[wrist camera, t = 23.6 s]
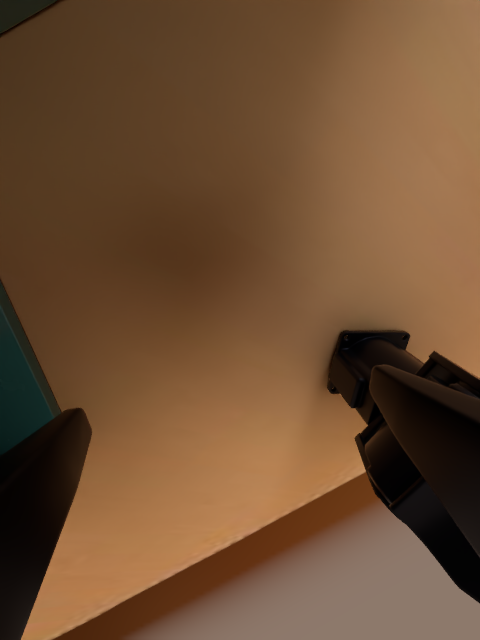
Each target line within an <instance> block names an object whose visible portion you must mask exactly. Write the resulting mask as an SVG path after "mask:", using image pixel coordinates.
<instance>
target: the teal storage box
mask: <svg viewBox="0 0 480 640" xmlns="http://www.w3.org/2000/svg"><path fill="white" fill-rule="evenodd" d="M59 414H61V411H60V409H59V407H58V404H57V402H56V400H55V398H54V396H53V393H52V391H51V389H50V387H49V385H48V383H47V380H46V378H45V376H44V374H43V372H42V370H41V367H40V365H39V363H38V361H37V359H36V357H35V354H34V352H33V350H32V348H31V346H30V343H29V341H28V339H27V337H26V335H25V333H24V330H23V328H22V326H21V324H20V322H19V320H18V317H17V315H16V313H15V311H14V309H13V307H12V304H11V302H10V300H9V298H8V296H7V293H6V291H5V289H4V287H3V285H2V283H1V280H0V456H1V455H3V454H4V453H6V452H7V451H8V450H10V449H11V448H13V447H14V446H15V445H17V444H18V443H20V442H21V441H22V440H24V439H25V438H27V437H28V436H30V435H31V434H32V433H34V432H35V431H37V430H38V429H39V428H41V427H42V426H44V425H45V424H46V423H48V422H49V421H51V420H52V419H54V418H55V417H56V416H58V415H59Z"/></svg>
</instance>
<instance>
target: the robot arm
mask: <svg viewBox="0 0 480 640" xmlns="http://www.w3.org/2000/svg"><path fill="white" fill-rule="evenodd" d="M346 335H348V336H347V337H346V338H344V337H345V336H346ZM403 336H404V337H403ZM402 337H403V338H402ZM409 338H410V335H409V333H407V332H405V331H343V332H341V334H340V336H339V340H338V344H337V348H336V353H335V354H334V356H333V361H332V365H331V369H330V373H329V382H328V387H327V389H328V390H329V392H330V393H331V394H341V395H342V397H343V398H344V399H345V401H346V402H347V404H348V405H349V406H350V407H351V408H355V409H356V410H357V411H358V413H359V414H360V415H361V417H362V418H363V419H364V421H365V422H366V424H367V425H368V426H367V427H366V428H365V429H364V430H363V431H362V433H359V434H358V435H357V436H356V437H355V441H356V444H357V447H358V450H359V453H360V455H361V458H362V461H363V464H364V467H365V469H366V472H367V475H368V478H369V481H370V483H371V485H372V487H373V490H374V492H375V494H376V495H377V496H378V498H380V499H381V501H382V502H383V503H384V504H385V505H386V507H387V508H388V509H389V510H390V511H391V512H392V513H393V514H394V515H395V516H396V517H397V518H398V519H400V520H401V521H402V522H403V523H405V524H406V525H407V526H408V527H409V528H410V529H411V530H412V531H413V532H414V533H415V535H417V537H418V538H419V539H420V540H421V541H422V542H423V543H424V544H425V546H427V548H428V549H429V551H430V552H431V553H432V554H433V556H434V557H435V558H436V559H437V561H438V562H439V563H440V564H441V566H442V567H443V568H444V570H445V571H446V572H447V574H448V575H449V576H450V578H451V579H452V580H453V581H454V583H455V584H456V585H457V586H458V587H459V588H460V589H461V590H463V591H464V592H465V593H466V594H468V595H469V596H471V597H472V598H473V599H475V600H476V601H478V602H479V603H480V378H478V377H476V376H475V375H473V374H472V373H470V372H468V371H467V370H465V369H463V368H462V367H460V366H458V365H457V364H455V363H453V362H452V361H450V360H448V359H447V358H445V357H443V356H442V355H440V354H439V353H437V352H435V351H434V352H433V353H432V354H431V355H430V356H429V357H430V358H429V359H428V360H427V362H426V363H425V364H424V363H423V362H421V361H420V360H419V359H417V358H416V357H414V356H413V355H412V354H410V353H409V352H407V351H406V347H407V344H408V341H409ZM332 388H333V389H332ZM91 435H92V430H91V426H90V424H89V421H88V419H87V417H86V414H85V412H84V410H83V409H82V408H74V409H68V410H65V411H63V412H62V413H61V414H59V415H58V416H56V417H55V418H54V419H52V420H51V421H49V422H48V423H46V424H45V425H44V426H42V427H41V428H39V429H38V430H37V431H35V432H34V433H32V434H31V435H30V436H28V437H27V438H25V439H24V440H22V441H21V442H20V443H18V444H17V445H15V446H14V447H13V448H11V449H10V450H8V451H7V452H6V453H4V454H3V455H1V456H0V640H21V637H22V635H23V632H24V629H25V627H26V624H27V621H28V619H29V616H30V613H31V611H32V608H33V606H34V603H35V600H36V598H37V595H38V592H39V590H40V587H41V584H42V582H43V579H44V576H45V574H46V571H47V568H48V566H49V563H50V560H51V558H52V555H53V552H54V550H55V547H56V544H57V542H58V539H59V536H60V534H61V531H62V528H63V526H64V523H65V521H66V518H67V515H68V513H69V510H70V507H71V505H72V502H73V499H74V496H75V494H76V491H77V488H78V484H79V481H80V477H81V473H82V470H83V466H84V462H85V458H86V455H87V451H88V447H89V443H90V440H91Z"/></svg>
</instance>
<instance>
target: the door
mask: <svg viewBox="0 0 480 640" xmlns="http://www.w3.org/2000/svg"><path fill="white" fill-rule="evenodd" d="M56 1H58V0H0V34H1V33H3V32H4V31H6V30H8V29H10V28H11V27H13V26H15V25H16V24H18V23H20V22H22V21H23V20H25V19H27V18H28V17H30V16H32V15H34V14H35V13H37V12H39V11H40V10H42V9H44V8H46V7H47V6H49V5H51V4H52V3H54V2H56Z"/></svg>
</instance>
